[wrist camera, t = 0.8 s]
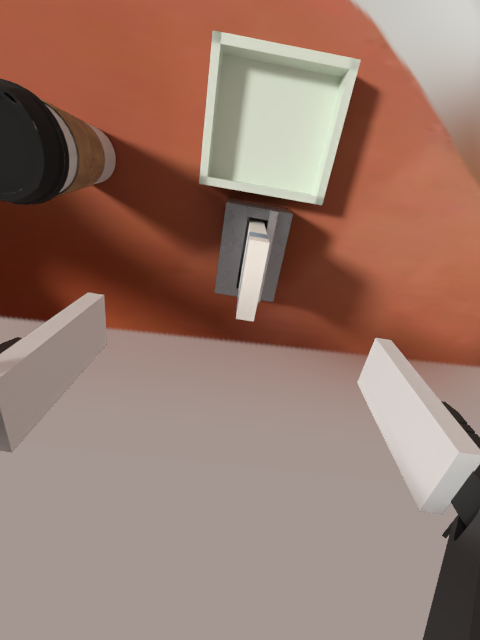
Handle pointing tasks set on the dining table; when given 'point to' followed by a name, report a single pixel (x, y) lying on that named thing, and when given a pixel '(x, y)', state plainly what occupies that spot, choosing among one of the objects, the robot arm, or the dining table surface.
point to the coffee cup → (46, 149)
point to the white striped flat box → (252, 269)
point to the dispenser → (234, 243)
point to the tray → (273, 117)
